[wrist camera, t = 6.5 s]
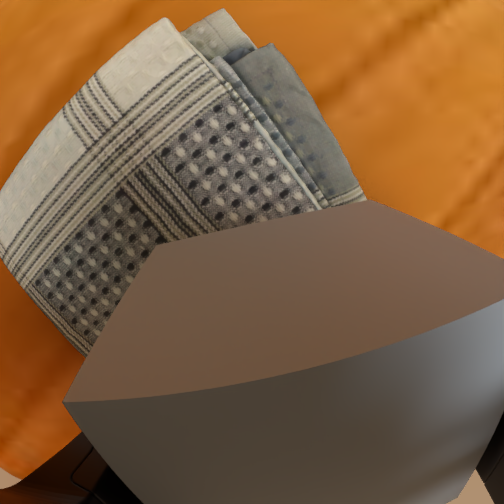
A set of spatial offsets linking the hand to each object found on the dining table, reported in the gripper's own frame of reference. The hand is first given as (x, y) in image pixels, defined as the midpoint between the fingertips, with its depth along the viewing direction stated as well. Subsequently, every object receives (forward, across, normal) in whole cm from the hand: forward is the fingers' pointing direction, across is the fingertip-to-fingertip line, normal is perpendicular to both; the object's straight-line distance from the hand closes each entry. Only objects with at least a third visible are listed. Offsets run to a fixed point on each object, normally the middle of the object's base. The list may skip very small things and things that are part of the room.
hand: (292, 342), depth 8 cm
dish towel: (+10, +4, -1) cm, 10 cm away
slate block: (+1, 0, 0) cm, 1 cm away
